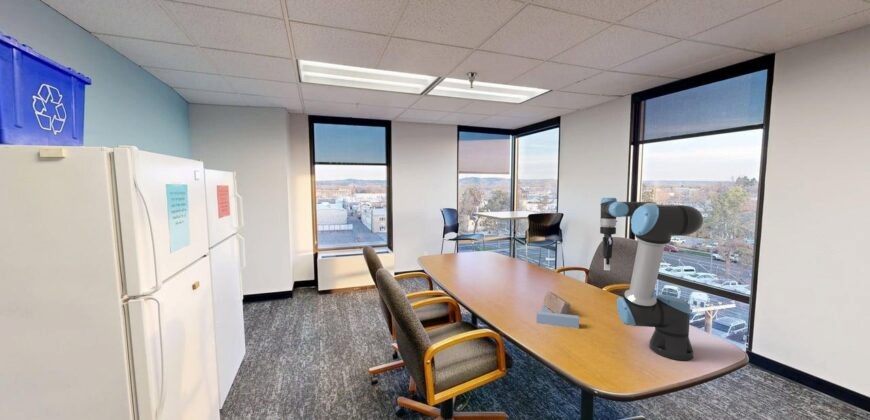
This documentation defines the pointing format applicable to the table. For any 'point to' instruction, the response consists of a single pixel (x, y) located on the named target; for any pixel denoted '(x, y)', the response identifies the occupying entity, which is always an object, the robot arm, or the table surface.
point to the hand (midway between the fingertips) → (607, 270)
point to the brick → (556, 303)
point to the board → (557, 319)
